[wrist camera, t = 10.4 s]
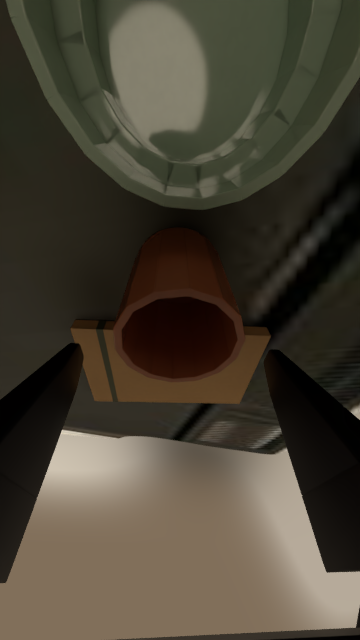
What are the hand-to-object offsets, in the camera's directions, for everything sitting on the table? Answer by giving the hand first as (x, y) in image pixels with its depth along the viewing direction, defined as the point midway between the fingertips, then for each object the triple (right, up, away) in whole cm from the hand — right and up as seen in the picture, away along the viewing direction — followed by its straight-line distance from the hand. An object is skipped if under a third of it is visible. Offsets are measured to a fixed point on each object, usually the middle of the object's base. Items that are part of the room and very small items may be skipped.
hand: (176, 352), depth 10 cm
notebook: (-1, -3, +14) cm, 14 cm away
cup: (0, +5, +7) cm, 9 cm away
